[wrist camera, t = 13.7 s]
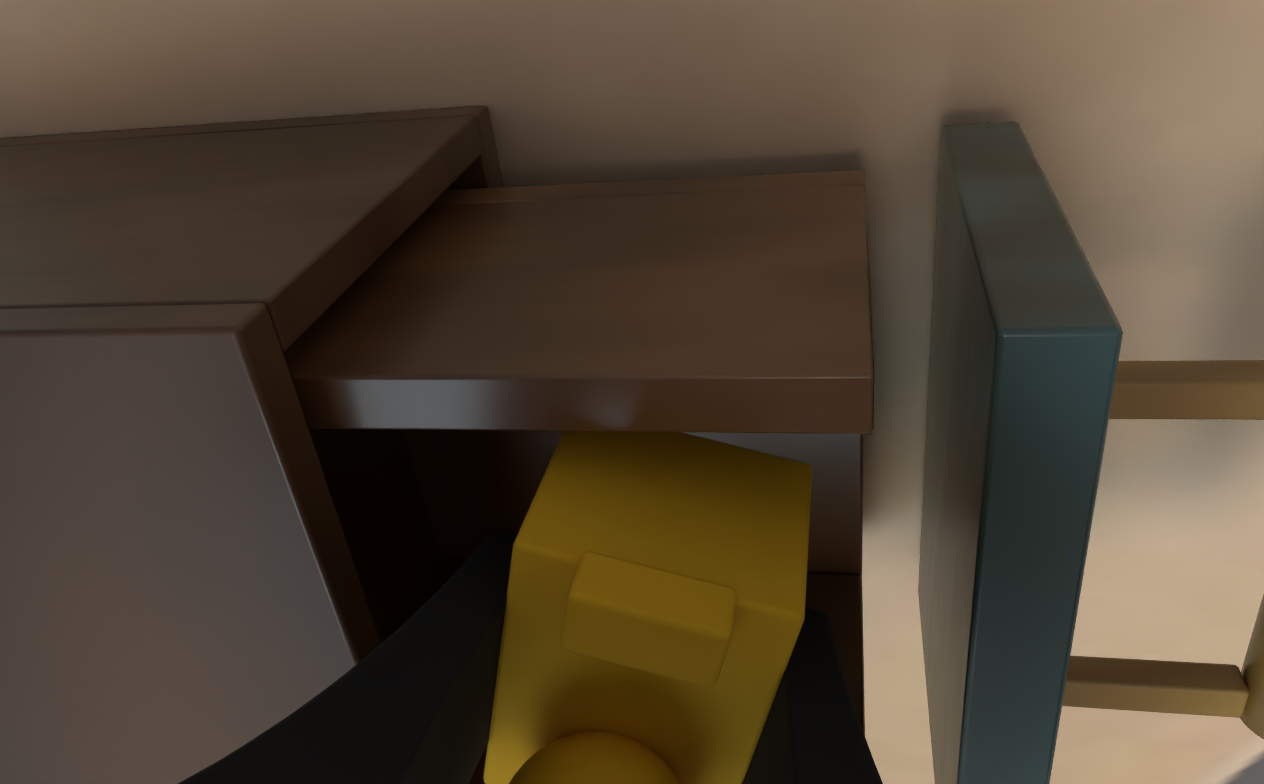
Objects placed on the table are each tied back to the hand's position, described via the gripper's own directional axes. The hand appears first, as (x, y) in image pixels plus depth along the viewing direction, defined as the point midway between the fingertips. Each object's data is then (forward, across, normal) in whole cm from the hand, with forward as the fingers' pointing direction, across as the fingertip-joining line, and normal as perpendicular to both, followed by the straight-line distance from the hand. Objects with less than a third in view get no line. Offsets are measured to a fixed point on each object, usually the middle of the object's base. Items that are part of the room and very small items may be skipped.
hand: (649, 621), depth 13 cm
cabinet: (+8, +10, +3) cm, 13 cm away
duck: (+1, 0, 0) cm, 1 cm away
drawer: (+7, -2, 0) cm, 7 cm away
